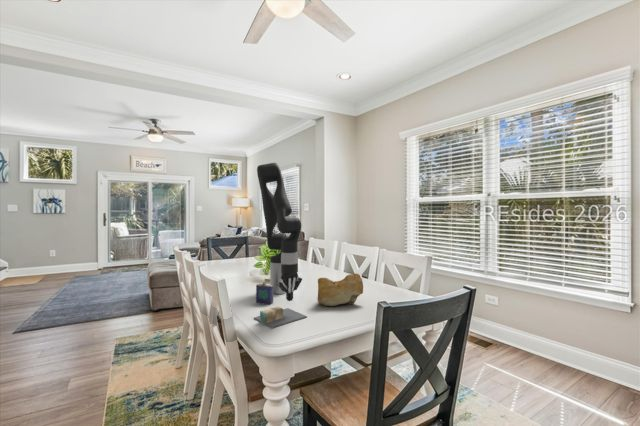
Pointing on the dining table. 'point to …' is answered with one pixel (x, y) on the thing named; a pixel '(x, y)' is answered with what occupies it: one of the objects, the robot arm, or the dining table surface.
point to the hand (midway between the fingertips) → (289, 300)
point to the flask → (264, 293)
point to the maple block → (271, 314)
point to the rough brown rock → (339, 290)
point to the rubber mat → (284, 318)
